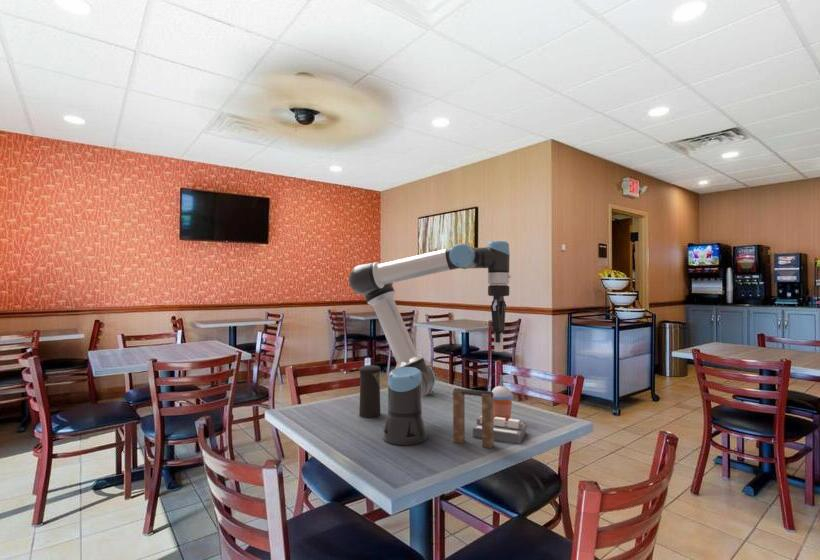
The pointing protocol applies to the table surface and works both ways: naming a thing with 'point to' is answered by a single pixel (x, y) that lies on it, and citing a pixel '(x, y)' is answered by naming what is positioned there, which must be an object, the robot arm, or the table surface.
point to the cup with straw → (502, 401)
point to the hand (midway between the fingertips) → (498, 351)
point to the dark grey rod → (473, 392)
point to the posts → (460, 419)
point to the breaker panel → (503, 432)
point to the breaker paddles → (504, 422)
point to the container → (369, 391)
